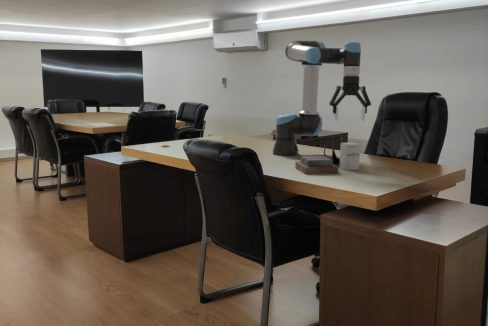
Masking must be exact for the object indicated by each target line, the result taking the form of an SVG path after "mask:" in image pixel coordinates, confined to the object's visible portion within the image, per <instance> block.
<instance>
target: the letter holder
mask: <svg viewBox="0 0 488 326" xmlns="http://www.w3.org/2000/svg"><path fill="white" fill-rule="evenodd" d="M341 143H344V139H343V136H340V144H341ZM331 147H332V149H331V157H329V158H330V159H332V160H333V165H335V166H337V167H340V157H337V154H336V151H335V142H334V141H332V146H331ZM323 156H325V157H327V158H328V156H327V154H326V145H324V146H323Z"/></svg>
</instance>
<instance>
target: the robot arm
mask: <svg viewBox="0 0 488 326" xmlns="http://www.w3.org/2000/svg"><path fill="white" fill-rule="evenodd" d="M361 47H362V46H361V43H360V42H357V41H352V42H351V41H350V42H348V41H347V42H345V43H344V46H343V48H341V47H340V48H339V47H327V46H326V45H325V44H324V42H322V41H317V40H294V41H291V42H289V43H288V44H287V45H286V47H285V49H284V53H285V56H286V57H287V59H288V60H290V61H292V62H297V63H301V66H302V68H303V83H302V99H301V101H302V102H301V110H300V111H299V112H298V115H297V113H284V114H280V115H278V116H277V117H276V121H275V142H274V145H273V148H272V155H276V156H287V157H288V156H290V157H291V156H297V155H299V152H300V151H299V147H298V143H297V137H303V136H304V137H305V136H309V137H312V136H317V135H319V133H320V132H321V131H322V127H323V119H322V116H320V112H319V111H318V109H317V108H318V92H319V91H318V90H319V78H320V77H319V74H320V68H321V67H322V66H323V64H330V65H334V64H335V65H343V75H344V76H343V79H342V86H340V85H337V86H336V88H335V92H334V94H332V97H331V99H330V101H329V103H328V104H329V106H331V107H332V113H333V114H334V118H333V119H334V121H335V122H336V121H338V120H339V106H338V105H339V104H340V103H341V102H342V100H343V99H344V98H345V97H346V96H355V97H356V99H358V101H359V102H360V104H361V105H362V106H361V112H360V113H361V114H360V119H361V121H364V122H365V121H366V114H367V112H368V107H369V106H372V102H371V100H370V98H369V95H368V93H367V90H366V86H365V85H362V86H360V76H359V75H360V74H361V73H360V71H361V53H362V52H361V51H362V50H361ZM359 90H360V92H361V94H360V93H359ZM341 91H343V92H342V93H341V95H339V94H340V92H341Z"/></svg>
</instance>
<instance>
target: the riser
mask: <svg viewBox="0 0 488 326" xmlns="http://www.w3.org/2000/svg"><path fill="white" fill-rule="evenodd" d="M330 158H331V157H328V156H327V157H325V156H324V155H311V156H310V155H309V156H306V155H305V156H304V155H303V156H301V155H300V161H295V167H294V168H295V169H296V170H298V171H300V172H301V173H303V174H304V175H317V174H318V175H319V174H320V175H324V174H325V175H326V174H327V175H328V174H330V173H331V174H339V166H335V165H333V160H332V159H330Z"/></svg>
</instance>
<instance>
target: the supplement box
mask: <svg viewBox="0 0 488 326" xmlns="http://www.w3.org/2000/svg"><path fill="white" fill-rule="evenodd" d="M339 152H340V153H339V158H340V166H339V168H340V169H342V170H344V171H348V170H350V171H351V170H352V171H353V170H354V171H355V170H357V171H358V170H359V169H360V155H361V154H360V153H361V144H360V143H357V142H343V143H341V142H340V151H339Z"/></svg>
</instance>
